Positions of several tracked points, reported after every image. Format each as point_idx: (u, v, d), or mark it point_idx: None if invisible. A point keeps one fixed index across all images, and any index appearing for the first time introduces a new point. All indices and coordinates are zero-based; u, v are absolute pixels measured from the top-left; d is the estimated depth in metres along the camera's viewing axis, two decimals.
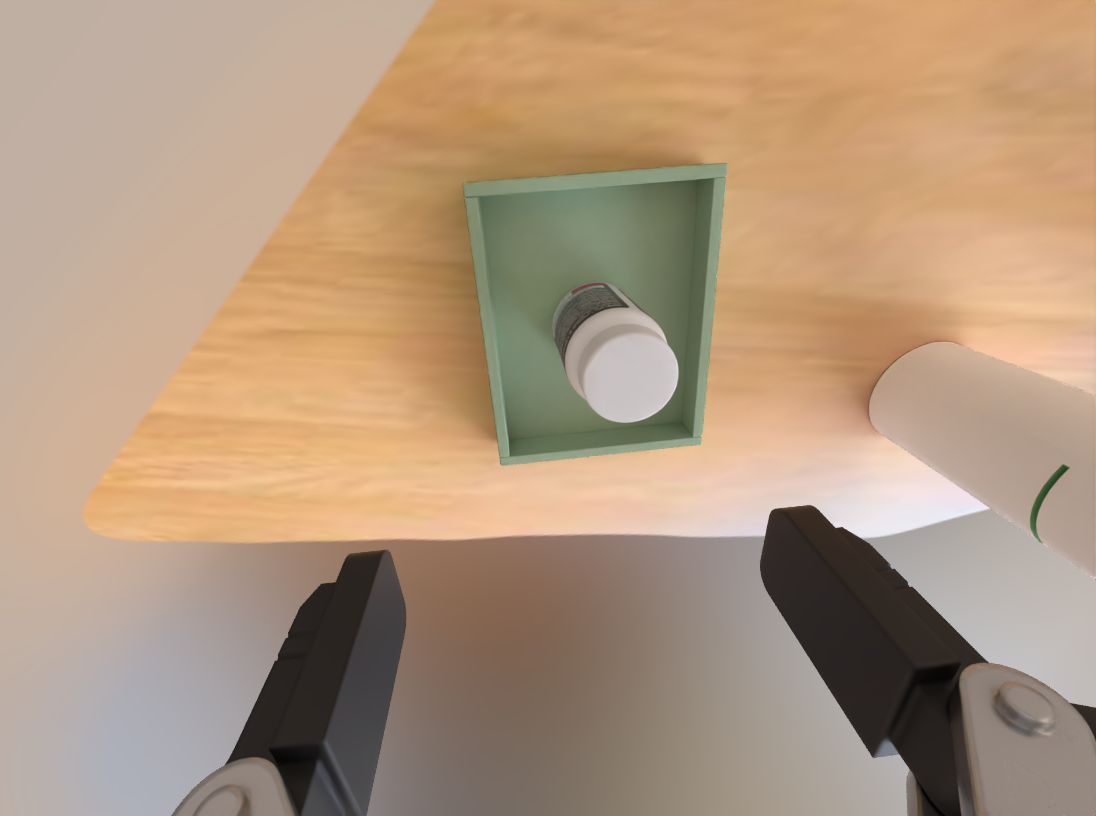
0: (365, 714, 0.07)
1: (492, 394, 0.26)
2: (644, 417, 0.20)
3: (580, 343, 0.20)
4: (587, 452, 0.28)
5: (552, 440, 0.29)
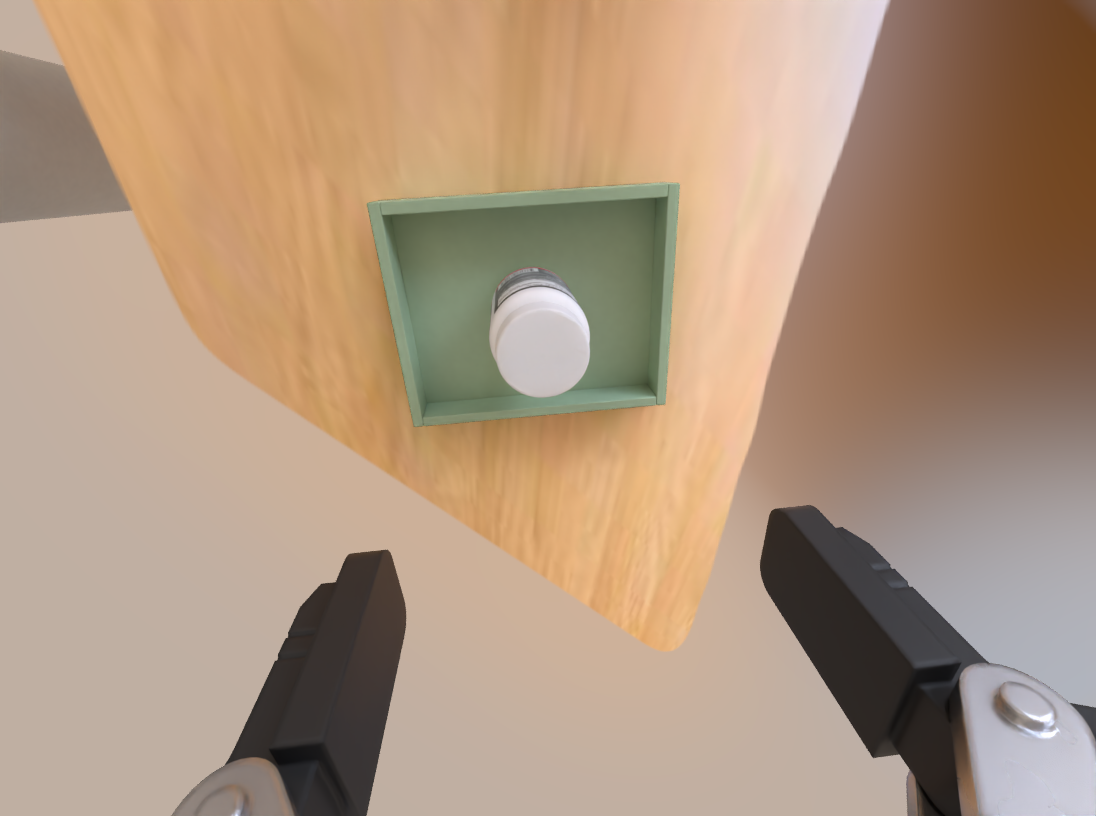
0: (365, 715, 0.07)
1: (589, 410, 0.28)
2: (585, 338, 0.19)
3: None
4: (665, 321, 0.26)
5: (652, 347, 0.28)
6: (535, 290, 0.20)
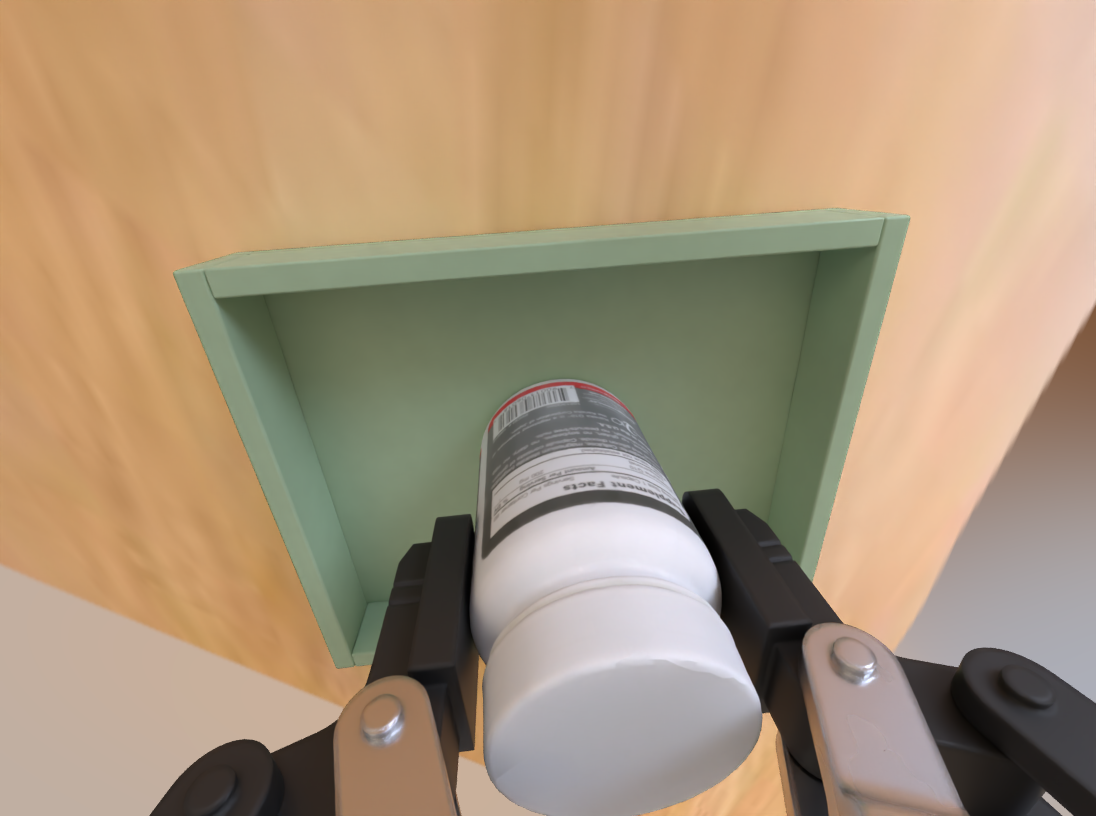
0: (469, 654, 0.08)
1: None
2: (755, 709, 0.06)
3: None
4: (828, 485, 0.13)
5: (781, 510, 0.15)
6: (593, 524, 0.07)
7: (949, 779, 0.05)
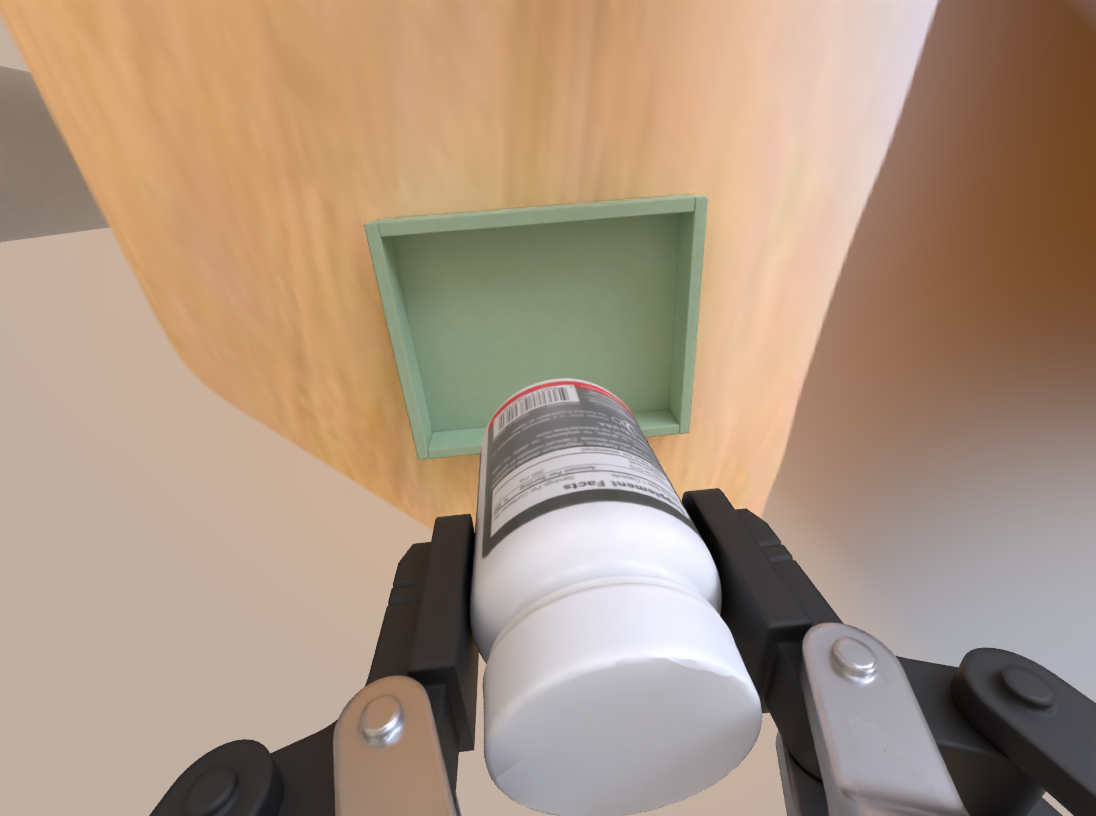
0: (469, 654, 0.08)
1: None
2: (754, 707, 0.06)
3: None
4: (690, 345, 0.24)
5: (674, 371, 0.26)
6: (593, 523, 0.07)
7: (950, 779, 0.05)
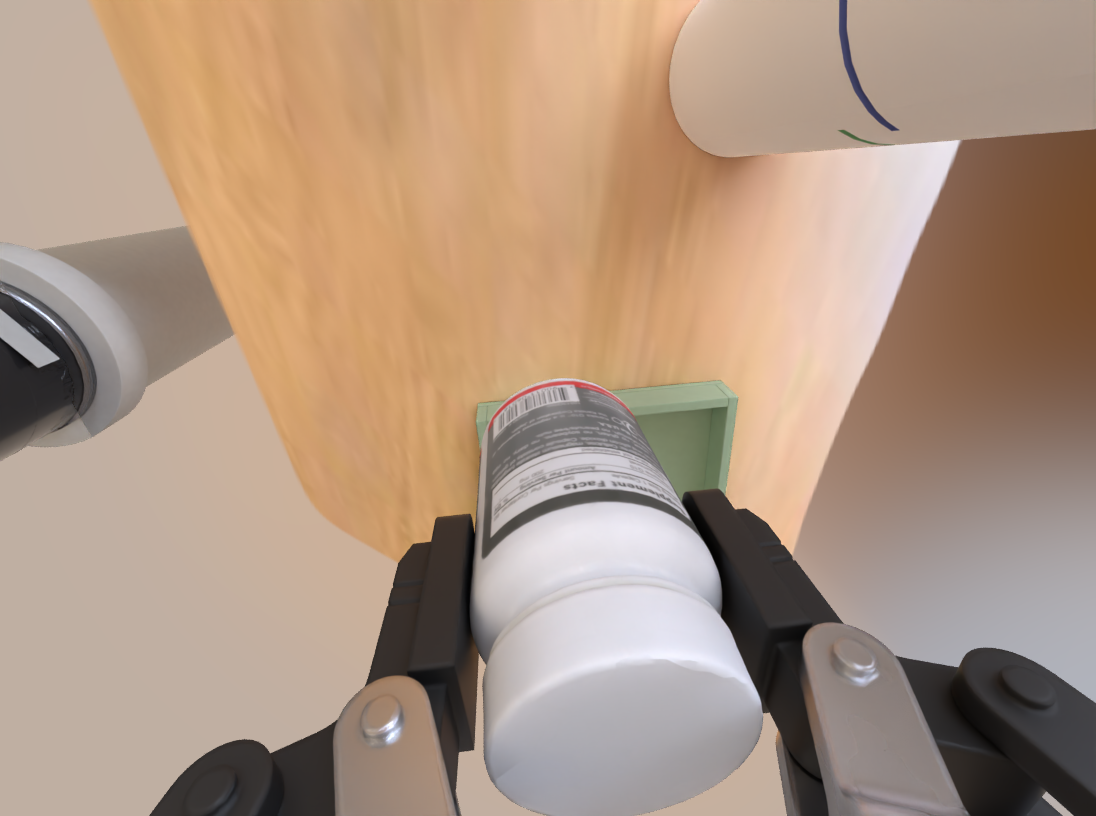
0: (469, 654, 0.08)
1: None
2: (755, 709, 0.06)
3: None
4: None
5: None
6: (593, 523, 0.07)
7: (950, 779, 0.05)
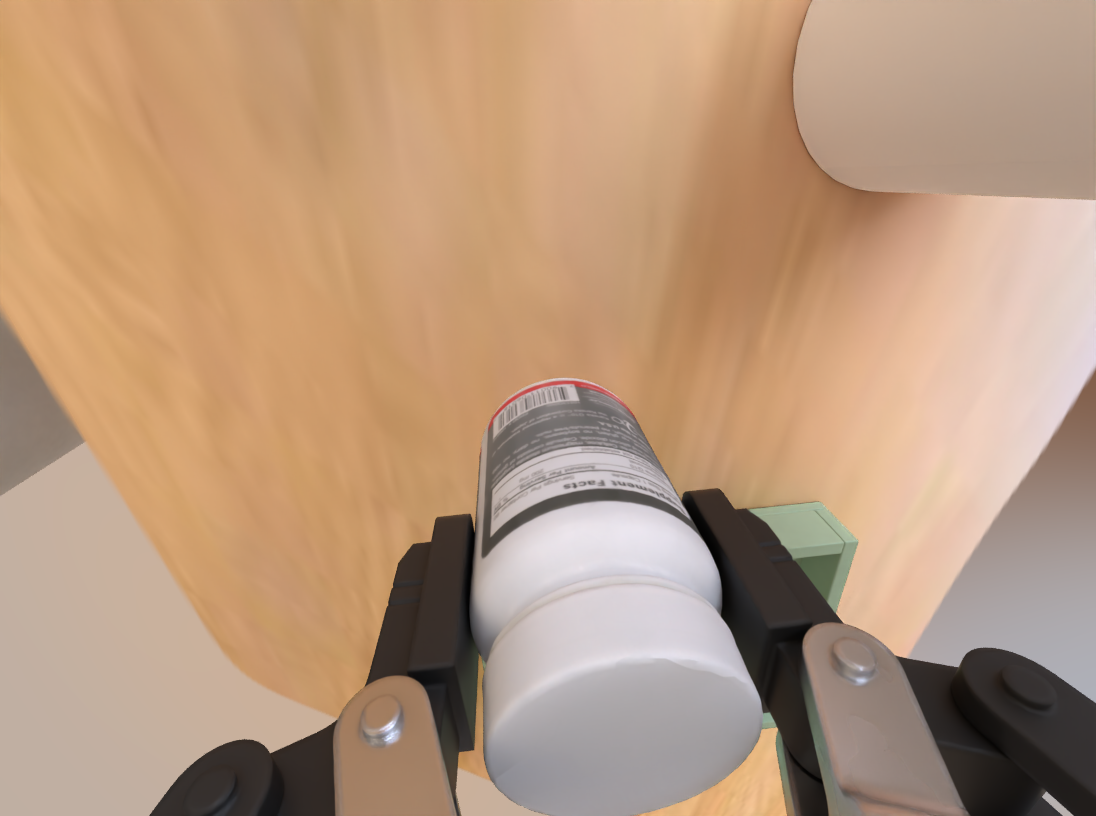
0: (469, 654, 0.08)
1: None
2: (755, 708, 0.06)
3: None
4: None
5: None
6: (593, 522, 0.07)
7: (950, 779, 0.05)
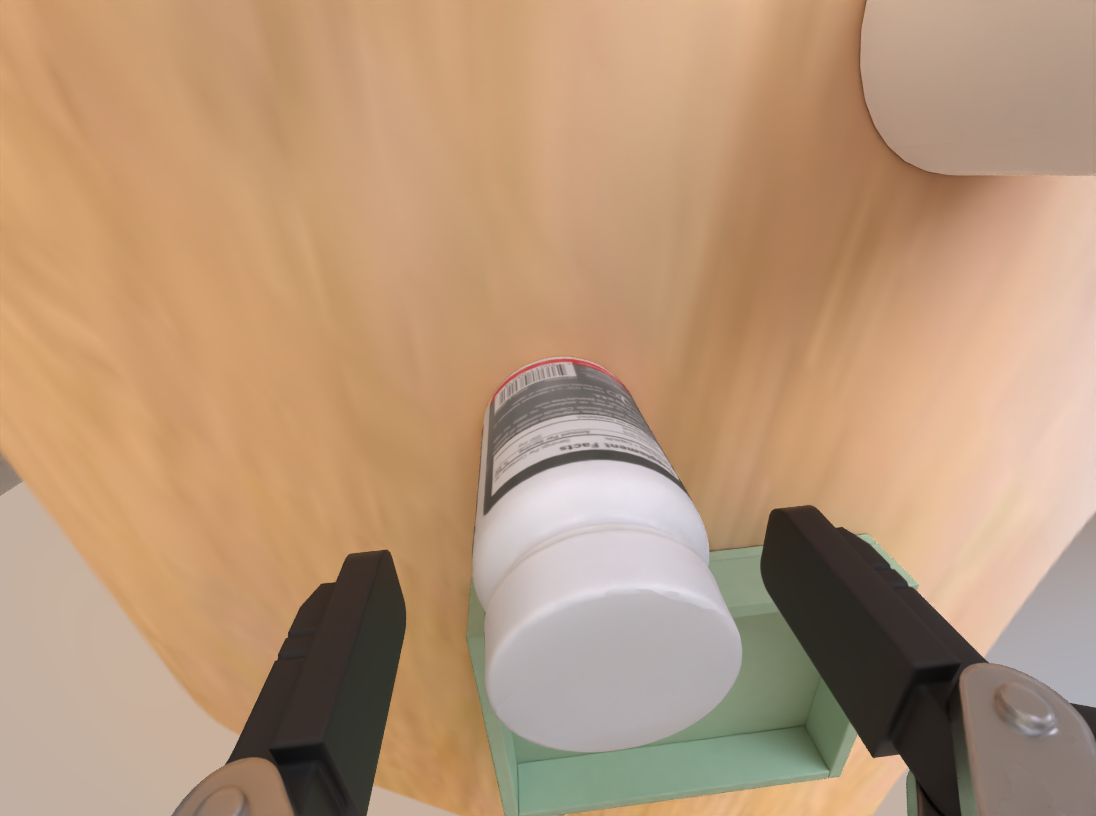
0: (365, 715, 0.07)
1: None
2: (735, 641, 0.07)
3: None
4: None
5: (824, 705, 0.21)
6: (586, 478, 0.08)
7: None
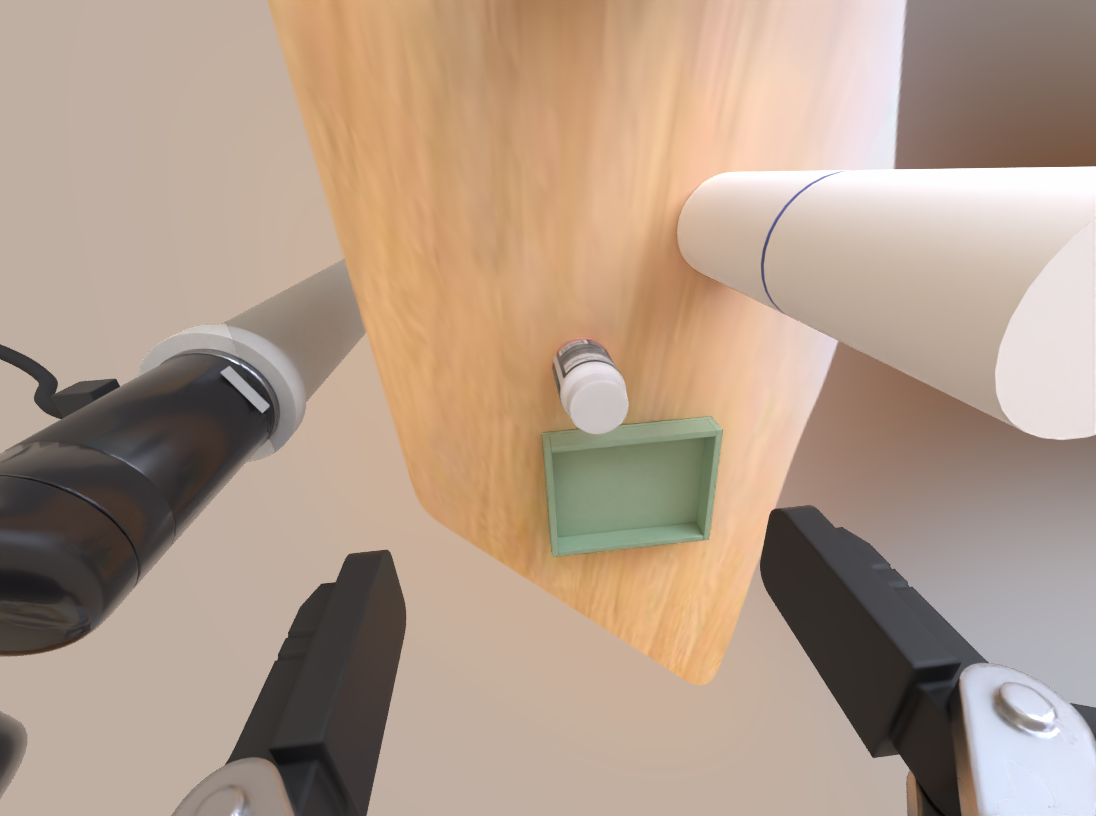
0: (365, 715, 0.07)
1: (661, 544, 0.45)
2: (626, 398, 0.31)
3: None
4: (711, 496, 0.42)
5: (700, 504, 0.45)
6: (592, 365, 0.32)
7: None
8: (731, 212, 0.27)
